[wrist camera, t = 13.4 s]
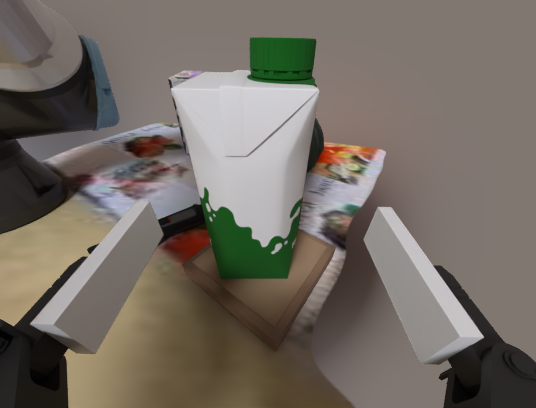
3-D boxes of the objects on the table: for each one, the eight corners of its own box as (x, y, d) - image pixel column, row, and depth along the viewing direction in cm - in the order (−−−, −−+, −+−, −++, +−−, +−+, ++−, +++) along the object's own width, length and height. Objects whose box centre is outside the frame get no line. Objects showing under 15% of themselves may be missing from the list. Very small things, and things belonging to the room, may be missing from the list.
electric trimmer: (98, 254, 28) (85, 238, 26) (208, 210, 35) (204, 194, 33) (101, 275, 25) (87, 259, 23) (218, 222, 32) (215, 207, 30)
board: (186, 274, 25) (181, 263, 23) (255, 217, 33) (254, 206, 32) (275, 351, 19) (276, 341, 17) (332, 257, 27) (336, 246, 26)
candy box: (209, 154, 51) (196, 76, 41) (185, 155, 51) (166, 76, 41) (215, 134, 62) (206, 69, 52) (195, 135, 62) (182, 69, 52)
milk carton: (297, 287, 21) (344, 38, 9) (208, 287, 21) (133, 33, 9) (289, 227, 28) (310, 39, 16) (222, 226, 28) (191, 37, 16)
